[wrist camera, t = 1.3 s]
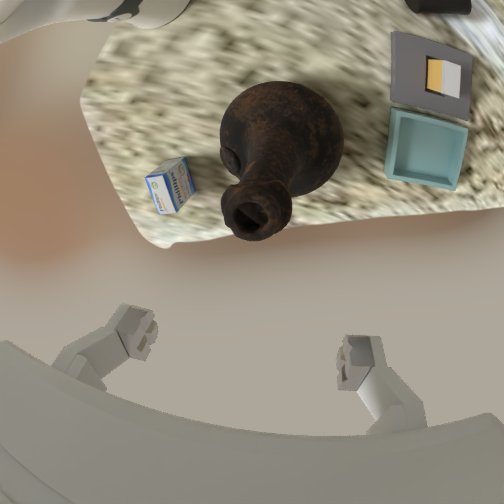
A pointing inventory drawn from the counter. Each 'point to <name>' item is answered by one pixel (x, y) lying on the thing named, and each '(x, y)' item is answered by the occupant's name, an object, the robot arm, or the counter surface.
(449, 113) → the socket block
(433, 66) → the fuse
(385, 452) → the robot arm
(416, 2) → the end cap
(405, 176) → the parts tray
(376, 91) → the counter surface
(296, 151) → the dark brown vase
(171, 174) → the medicine box
